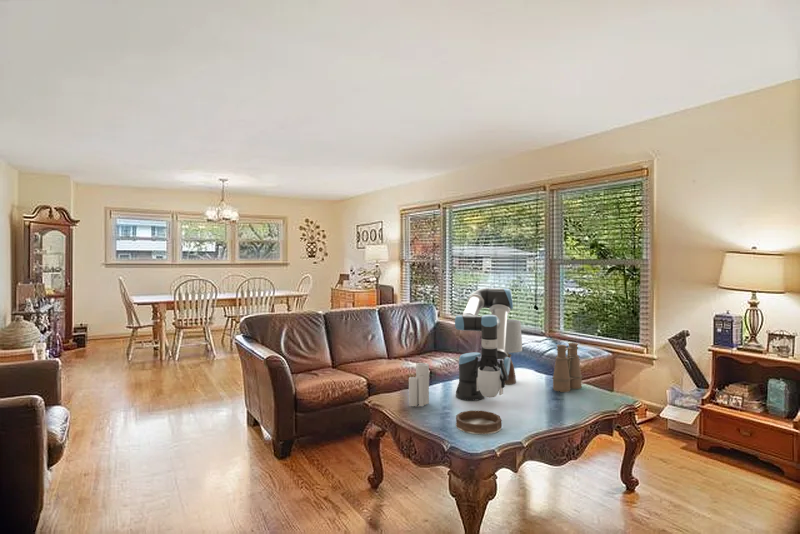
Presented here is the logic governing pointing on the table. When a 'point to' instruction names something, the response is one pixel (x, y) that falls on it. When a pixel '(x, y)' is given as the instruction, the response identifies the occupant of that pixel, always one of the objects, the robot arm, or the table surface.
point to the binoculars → (567, 369)
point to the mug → (489, 381)
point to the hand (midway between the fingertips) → (489, 392)
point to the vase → (419, 386)
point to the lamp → (513, 345)
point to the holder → (478, 422)
